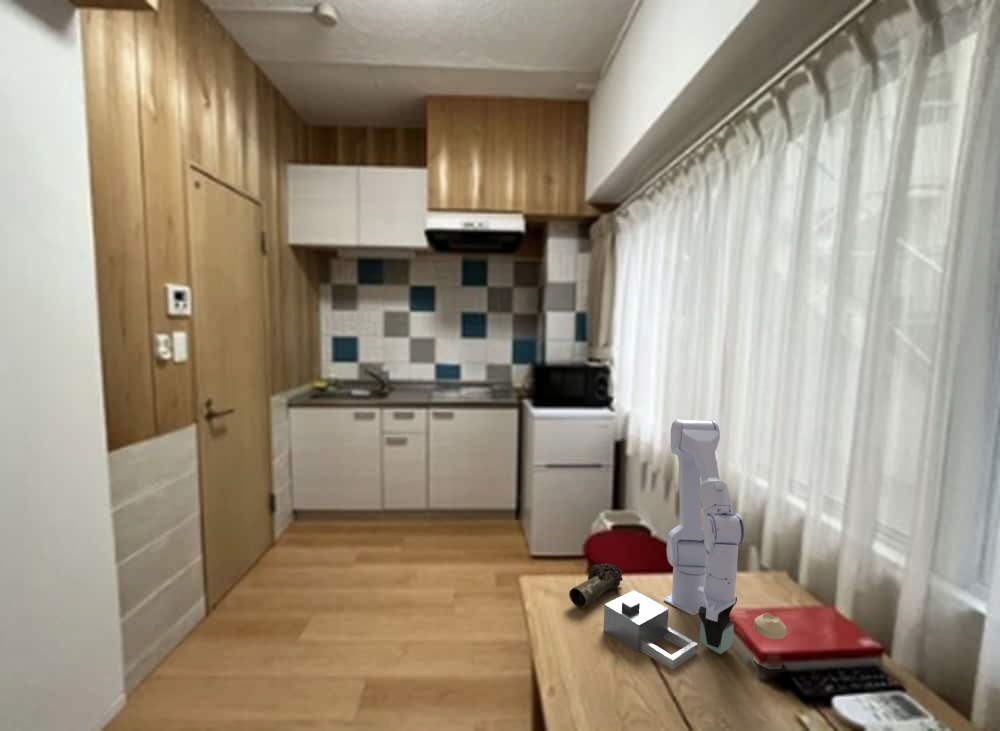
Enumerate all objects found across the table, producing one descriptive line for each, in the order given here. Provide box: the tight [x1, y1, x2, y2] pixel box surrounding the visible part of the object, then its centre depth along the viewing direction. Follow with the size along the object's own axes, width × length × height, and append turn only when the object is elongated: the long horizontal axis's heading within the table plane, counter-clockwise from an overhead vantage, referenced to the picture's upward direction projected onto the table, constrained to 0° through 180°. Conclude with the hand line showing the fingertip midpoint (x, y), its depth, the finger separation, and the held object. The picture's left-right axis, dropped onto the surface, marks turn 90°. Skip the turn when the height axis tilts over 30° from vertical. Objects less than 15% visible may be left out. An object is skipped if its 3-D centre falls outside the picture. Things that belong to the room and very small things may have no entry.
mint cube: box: [699, 619, 735, 655], centre depth 103 cm, size 4×4×5 cm
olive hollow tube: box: [568, 563, 623, 609], centre depth 124 cm, size 18×7×6 cm, turn 136°
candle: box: [753, 612, 787, 639], centre depth 99 cm, size 6×6×10 cm
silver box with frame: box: [603, 590, 699, 670], centre depth 107 cm, size 13×16×8 cm
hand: (716, 637), depth 103 cm, fingers closed on mint cube, 6 cm apart
